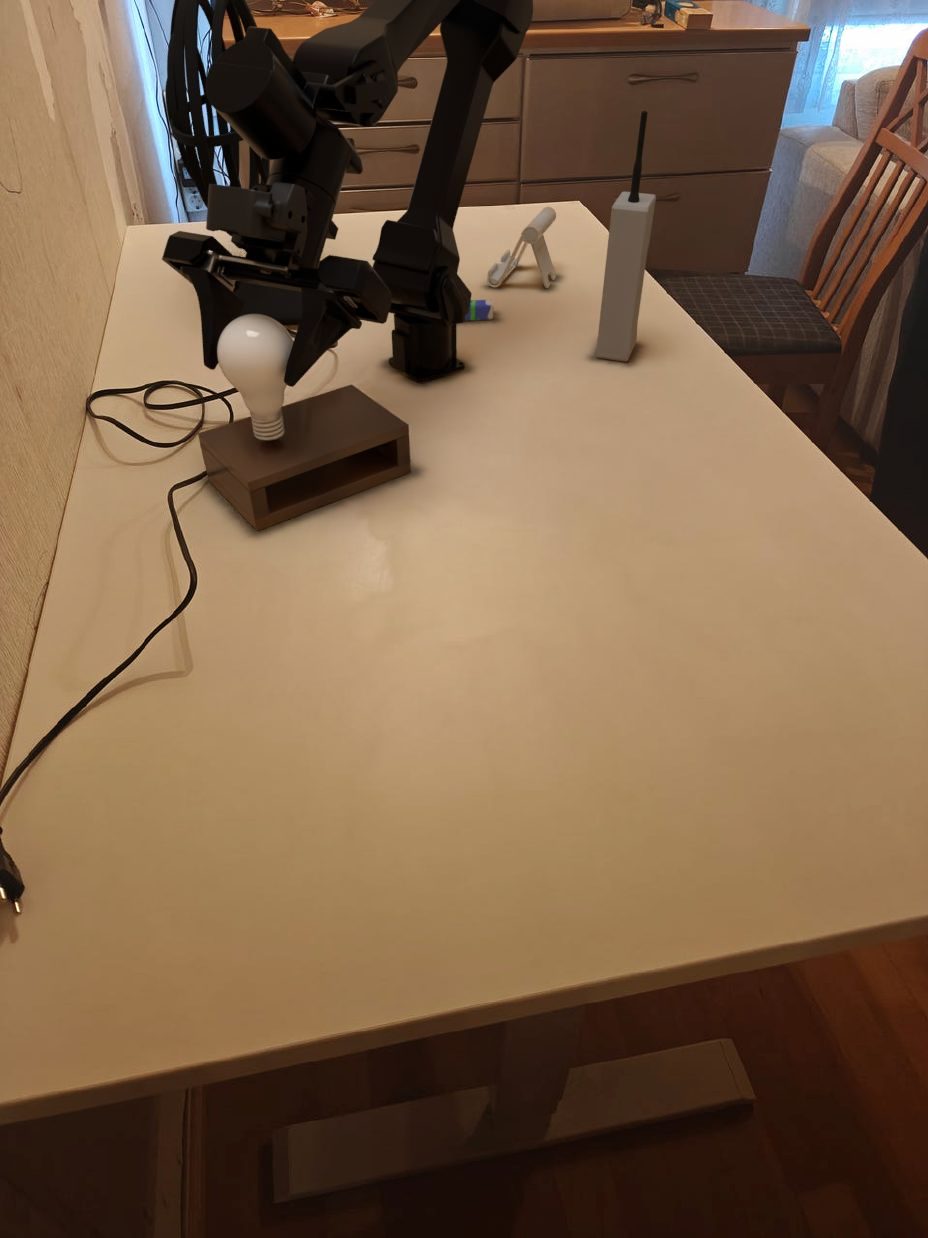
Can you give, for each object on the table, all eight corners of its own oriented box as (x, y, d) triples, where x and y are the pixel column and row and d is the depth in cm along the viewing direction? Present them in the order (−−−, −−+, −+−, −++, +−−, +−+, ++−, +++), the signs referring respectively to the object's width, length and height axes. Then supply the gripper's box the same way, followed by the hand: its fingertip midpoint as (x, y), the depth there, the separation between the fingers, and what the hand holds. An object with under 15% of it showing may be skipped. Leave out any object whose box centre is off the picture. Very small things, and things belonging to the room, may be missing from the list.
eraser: (493, 320, 108) (494, 304, 107) (446, 322, 108) (445, 306, 106) (491, 313, 110) (491, 298, 109) (443, 316, 109) (443, 300, 108)
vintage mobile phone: (635, 345, 103) (668, 104, 86) (627, 363, 99) (660, 115, 83) (604, 341, 104) (631, 102, 87) (595, 358, 100) (621, 112, 84)
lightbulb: (269, 465, 73) (249, 339, 66) (218, 442, 76) (193, 319, 69) (321, 435, 77) (308, 313, 70) (271, 415, 80) (252, 295, 73)
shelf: (355, 429, 88) (351, 383, 85) (411, 472, 82) (409, 424, 79) (208, 480, 81) (197, 432, 77) (257, 531, 75) (247, 482, 71)
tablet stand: (506, 265, 123) (508, 202, 117) (560, 272, 121) (565, 208, 115) (486, 286, 117) (488, 221, 111) (543, 294, 115) (547, 228, 109)
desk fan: (233, 260, 124) (180, -48, 101) (356, 261, 124) (331, -48, 101) (187, 341, 104) (107, -23, 80) (334, 341, 104) (297, -22, 80)
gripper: (148, 120, 66) (89, 315, 66) (364, 145, 61) (301, 358, 61) (226, 201, 77) (176, 369, 77) (416, 229, 72) (363, 410, 71)
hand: (247, 376), depth 71 cm, fingers open, 7 cm apart
